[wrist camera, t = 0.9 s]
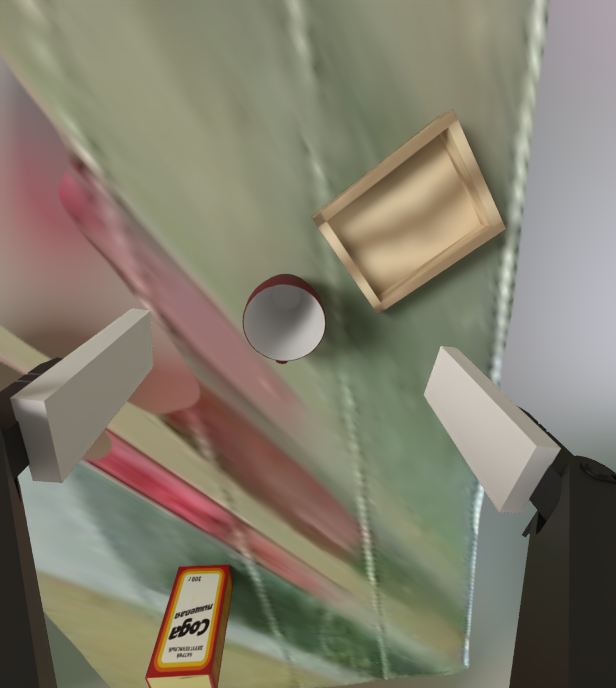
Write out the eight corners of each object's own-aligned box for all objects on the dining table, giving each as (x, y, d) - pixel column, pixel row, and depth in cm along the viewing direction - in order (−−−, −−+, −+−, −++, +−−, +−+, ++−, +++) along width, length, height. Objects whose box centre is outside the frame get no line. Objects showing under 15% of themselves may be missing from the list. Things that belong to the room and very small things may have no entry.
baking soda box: (184, 587, 65) (153, 702, 50) (179, 567, 62) (144, 681, 47) (233, 585, 65) (215, 698, 50) (229, 564, 62) (210, 678, 48)
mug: (319, 341, 43) (327, 380, 34) (258, 344, 43) (250, 384, 34) (318, 260, 39) (325, 281, 30) (250, 263, 39) (236, 285, 30)
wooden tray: (311, 216, 37) (312, 219, 34) (437, 117, 33) (453, 109, 30) (371, 305, 42) (377, 314, 38) (488, 225, 38) (505, 228, 35)
